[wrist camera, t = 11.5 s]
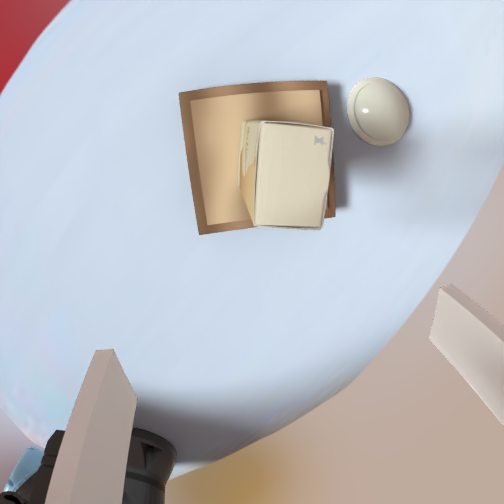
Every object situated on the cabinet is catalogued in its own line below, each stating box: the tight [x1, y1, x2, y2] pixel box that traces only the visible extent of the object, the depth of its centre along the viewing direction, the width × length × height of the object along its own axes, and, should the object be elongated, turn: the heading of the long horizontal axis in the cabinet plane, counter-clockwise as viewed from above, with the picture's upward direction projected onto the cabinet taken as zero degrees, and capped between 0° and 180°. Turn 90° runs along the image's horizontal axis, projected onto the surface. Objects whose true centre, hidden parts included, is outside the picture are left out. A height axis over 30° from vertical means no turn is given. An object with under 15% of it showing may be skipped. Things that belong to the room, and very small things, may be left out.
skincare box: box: [238, 120, 334, 230], centre depth 22 cm, size 6×4×12 cm
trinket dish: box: [347, 77, 410, 146], centre depth 29 cm, size 8×8×2 cm
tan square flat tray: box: [179, 81, 335, 235], centre depth 29 cm, size 14×14×3 cm
